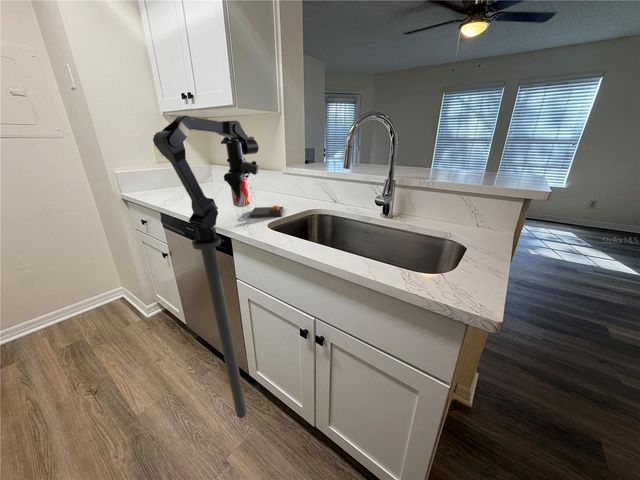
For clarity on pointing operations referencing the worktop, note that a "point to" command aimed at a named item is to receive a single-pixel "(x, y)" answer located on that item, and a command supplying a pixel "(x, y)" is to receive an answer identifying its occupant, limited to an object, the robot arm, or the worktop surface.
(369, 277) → the worktop surface
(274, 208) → the tare button
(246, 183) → the soda can
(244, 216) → the worktop surface
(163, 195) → the worktop surface
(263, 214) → the scale
